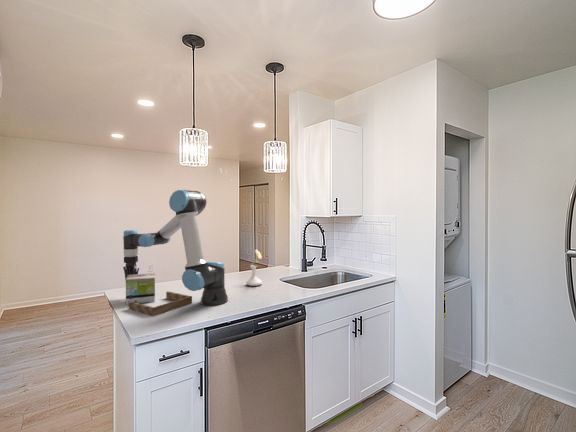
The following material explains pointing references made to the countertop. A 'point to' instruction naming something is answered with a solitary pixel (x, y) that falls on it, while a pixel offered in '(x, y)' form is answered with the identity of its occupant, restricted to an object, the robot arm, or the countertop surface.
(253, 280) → the flower in vase
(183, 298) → the walnut bay
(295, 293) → the countertop surface
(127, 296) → the tea box
